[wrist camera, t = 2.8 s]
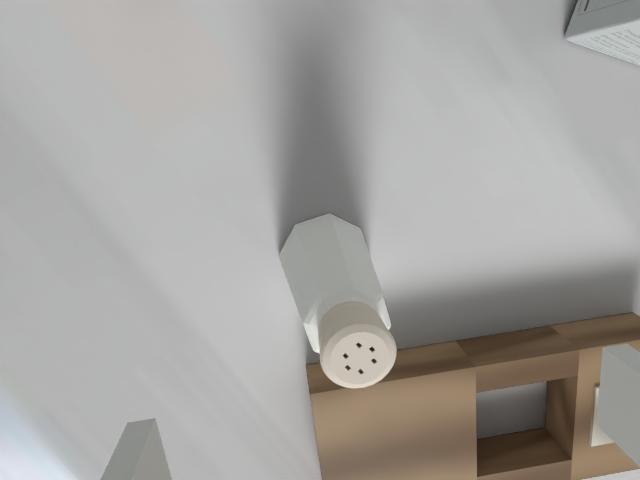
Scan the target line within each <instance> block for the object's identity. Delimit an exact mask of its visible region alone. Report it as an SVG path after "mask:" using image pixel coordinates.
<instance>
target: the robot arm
mask: <svg viewBox="0 0 640 480" xmlns="http://www.w3.org/2000/svg"><path fill="white" fill-rule="evenodd" d="M596 425H597V426H598V427H599V428H600V429H601V430H602V431H603V432H605V433H606V434H607V435H608V436H609V437H610V438H611V439H612V440H613V441H614V442H615V443H616V444H617V445H618V446H619V447H620V448H621V449H622V450H623V451H624V452H625V453H626V454H627V455H628V456H629V457H630V458H631V459H632V460H633V461H634V462H635V463H636V464H637V465H638V466H639V467H640V352H639V351H637V350H636V349H634V348H633V347H632V346H630V345H629V344H622V345H615V346H609V347H603V349H602V362H601V374H600V387H599V399H598V412H597V424H596ZM101 480H172V478H171V475H170V471H169V467H168V464H167V460H166V456H165V452H164V449H163V445H162V441H161V438H160V434H159V430H158V427H157V423H156V419H149V420H142V421H136V422H130V423H127V425H126V427H125V429H124V431H123V434H122V436H121V438H120V440H119V442H118V444H117V446H116V448H115V450H114V453H113V455H112V457H111V459H110V461H109V463H108V465H107V467H106V469H105V472H104V474H103V476H102V478H101Z"/></svg>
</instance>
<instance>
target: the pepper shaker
mask: <svg viewBox="0 0 640 480" xmlns="http://www.w3.org/2000/svg"><path fill="white" fill-rule="evenodd" d="M279 258H280V261H281V264H282V267H283V269H284V272H285V275H286V278H287V281H288V283H289V286H290V289H291V292H292V295H293V297H294V300H295V303H296V306H297V309H298V311H299V314H300V317H301V319H302V322H303V325H304V328H305V331H306V333H307V336H308V339H309V342H310V344H311V346H312V349H313V351H315V352H317V353H319V354H320V363H321V366H322V369H323V371H324V373H325V374H326V376H327V377H328V378H329V379H330V380H332V381H333V382H334V383H336V384H338V385H340V386H343V387H347V388H364V387H367V386H370V385H373V384H375V383H377V382H378V381H380V380H382V379H383V378H384V377H385V376H386V375H387V374H388V373H389V371H390V370H391V368H392V367H393V365H394V362H395V359H396V351H397V347H396V343H395V340H394V338H393V336H392V335H391V333H390V332H389V328H390V327H391V322H390V318H389V314H388V311H387V307H386V304H385V300H384V297H383V294H382V290H381V287H380V284H379V281H378V278H377V275H376V272H375V269H374V266H373V263H372V260H371V257H370V254H369V251H368V248H367V245H366V242H365V240H364V237H363V234H362V231H361V228H358V227H356V226H354V225H352V224H350V223H348V222H346V221H344V220H342V219H340V218H338V217H336V216H334V215H332V214H330V213H328V214H325V215H322V216H319V217H316V218H313V219H310V220H307V221H304V222H301V223H298V224H295V225H294V227H293V229H292V231H291V233H290V235H289V237H288V239H287V240H286V242H285V244H284V246H283V248H282V250H281V252H280V254H279Z"/></svg>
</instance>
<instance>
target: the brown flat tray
mask: <svg viewBox="0 0 640 480" xmlns="http://www.w3.org/2000/svg"><path fill="white" fill-rule="evenodd" d="M622 344H629V345H630V346H632V347H633V348H634V349H636V350H637V351H639V352H640V316H638V315H637V314H635V313H633V312H632V313H626V314H620V315H613V316H607V317H601V318H595V319H589V320H582V321H576V322H570V323H564V324H557V325H551V326H545V327H539V328H533V329H526V330H520V331H514V332H508V333H502V334H495V335H489V336H483V337H477V338H470V339H464V340H458V341H452V342H446V343H439V344H433V345H427V346H421V347H414V348H408V349H402V350H397V351H396V359H395V362H394V365H393V367H392V368H391V370H390V371H389V373H388V374H387V375H386V376H385V377H384V378H383V379H382V380H380V381H378V382H377V383H375V384H373V385H370V386H367V387H364V388H347V387H343V386H340V385H338V384H336V383H334V382H333V381H332V380H330V379H329V378H328V377H327V376H326V374H325V373H324V371H323V369H322V366H321V363H315V364H309V365H306V369H307V377H308V384H309V392H310V399H311V406H312V413H313V420H314V427H315V433H316V440H317V447H318V454H319V461H320V468H321V475H322V480H581V479H586V478H592V477H597V476H603V475H608V474H614V473H619V472H624V471H630V470H635V469H640V467H639V466H638V465H637V464H636V463H635V462H634V461H633V460H632V459H631V458H630V457H629V456H628V455H627V454H626V453H625V452H624V451H623V450H622V449H621V448H620V447H619V446H618V445H617V444H616V443H615V442H614V441H613V440H612V439H611V438H610V437H609V436H608V435H607V434H606V433H605V432H603V431H602V430H601V429H600V428H599V427H598V426H597V425H596V424H597V412H598V399H599V387H600V374H601V362H602V349H603V347H609V346H615V345H622ZM543 381H547V396H546V418H545V428H541V429H535V430H530V431H524V432H518V433H513V434H507V435H501V436H496V437H490V438H484V439H478V440H477V436H476V393H478V392H484V391H490V390H496V389H502V388H508V387H514V386H520V385H526V384H531V383H537V382H543Z"/></svg>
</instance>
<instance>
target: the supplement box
mask: <svg viewBox="0 0 640 480" xmlns="http://www.w3.org/2000/svg"><path fill="white" fill-rule="evenodd" d="M565 39H566V40H568V41H570V42H573V43H576V44H579V45H581V46H584V47H587V48H590V49H593V50H596V51H598V52H601V53H604V54H607V55H610V56H613V57H616V58H619V59H622V60H625V61H628V62H631V63H633V64H636V65H639V66H640V0H578V2H577V4H576V7H575V10H574V12H573V15H572V18H571V20H570V23H569V26H568V28H567V31H566V34H565Z"/></svg>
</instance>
